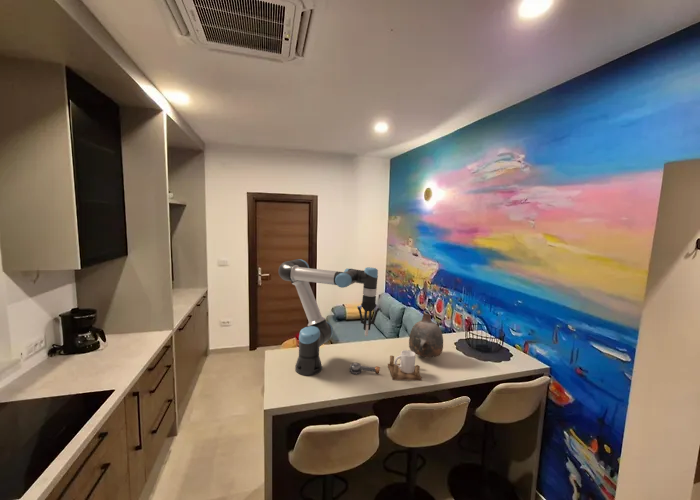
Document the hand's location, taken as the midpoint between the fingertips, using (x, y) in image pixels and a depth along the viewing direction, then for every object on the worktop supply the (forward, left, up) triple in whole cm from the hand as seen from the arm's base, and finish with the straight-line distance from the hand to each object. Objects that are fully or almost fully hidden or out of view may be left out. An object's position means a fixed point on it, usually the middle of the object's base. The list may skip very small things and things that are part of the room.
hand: (366, 335), depth 175 cm
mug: (+23, -2, -20) cm, 30 cm away
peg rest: (+23, -2, -21) cm, 31 cm away
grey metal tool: (0, -2, -20) cm, 20 cm away
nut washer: (-5, -1, -21) cm, 22 cm away
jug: (+42, +19, -21) cm, 51 cm away
